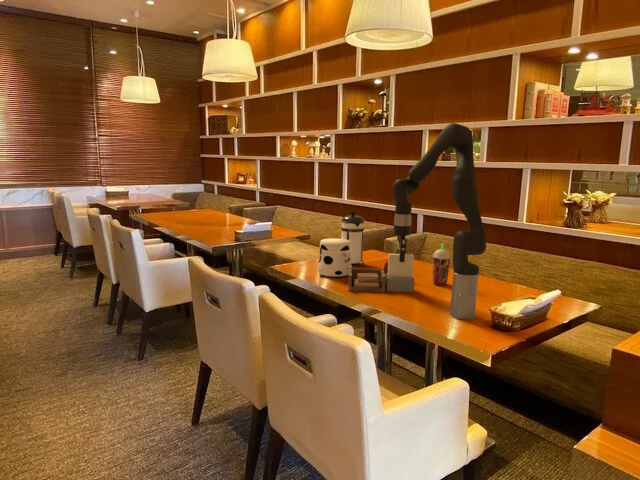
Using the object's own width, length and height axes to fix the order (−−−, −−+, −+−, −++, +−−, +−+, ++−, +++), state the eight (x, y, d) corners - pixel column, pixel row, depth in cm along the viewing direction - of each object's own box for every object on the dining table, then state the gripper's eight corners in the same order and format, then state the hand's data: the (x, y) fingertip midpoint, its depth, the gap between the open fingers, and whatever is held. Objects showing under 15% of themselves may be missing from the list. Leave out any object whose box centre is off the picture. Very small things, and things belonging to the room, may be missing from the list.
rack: (384, 294, 200) (385, 276, 198) (348, 293, 201) (349, 275, 199) (382, 285, 214) (383, 269, 212) (348, 284, 214) (348, 268, 213)
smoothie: (449, 287, 213) (452, 245, 209) (431, 285, 215) (433, 244, 211) (447, 282, 221) (450, 242, 217) (430, 281, 223) (433, 241, 219)
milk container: (357, 278, 226) (359, 243, 222) (326, 281, 218) (327, 245, 215) (341, 270, 241) (342, 237, 238) (312, 273, 234) (312, 239, 230)
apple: (406, 280, 223) (407, 261, 221) (394, 284, 216) (395, 263, 215) (391, 276, 230) (392, 257, 228) (379, 279, 223) (380, 260, 222)
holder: (413, 294, 201) (414, 278, 200) (386, 293, 202) (387, 278, 200) (411, 288, 209) (412, 274, 208) (385, 288, 210) (385, 273, 208)
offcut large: (378, 291, 201) (379, 283, 201) (354, 290, 202) (354, 282, 201) (377, 287, 207) (378, 279, 206) (353, 286, 208) (354, 279, 207)
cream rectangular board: (411, 290, 204) (413, 255, 201) (387, 289, 204) (389, 254, 201) (411, 288, 206) (413, 254, 203) (386, 287, 207) (388, 253, 204)
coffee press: (369, 263, 259) (372, 210, 253) (357, 268, 245) (358, 213, 240) (343, 258, 268) (345, 208, 262) (329, 264, 254) (330, 211, 249)
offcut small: (378, 282, 202) (378, 276, 201) (358, 282, 202) (358, 276, 201) (376, 279, 207) (377, 273, 206) (357, 279, 206) (357, 273, 206)
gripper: (413, 226, 192) (411, 263, 195) (408, 222, 206) (407, 256, 209) (395, 226, 193) (393, 263, 196) (392, 221, 207) (390, 256, 210)
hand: (400, 259), depth 203 cm, fingers open, 8 cm apart
